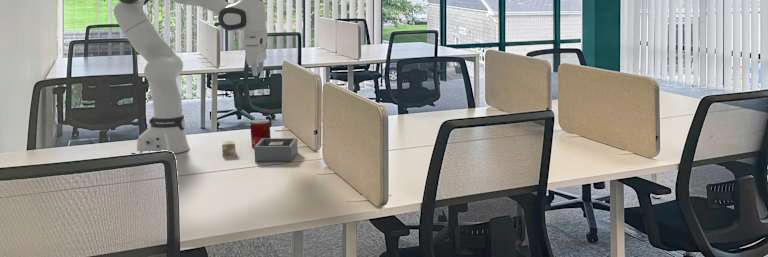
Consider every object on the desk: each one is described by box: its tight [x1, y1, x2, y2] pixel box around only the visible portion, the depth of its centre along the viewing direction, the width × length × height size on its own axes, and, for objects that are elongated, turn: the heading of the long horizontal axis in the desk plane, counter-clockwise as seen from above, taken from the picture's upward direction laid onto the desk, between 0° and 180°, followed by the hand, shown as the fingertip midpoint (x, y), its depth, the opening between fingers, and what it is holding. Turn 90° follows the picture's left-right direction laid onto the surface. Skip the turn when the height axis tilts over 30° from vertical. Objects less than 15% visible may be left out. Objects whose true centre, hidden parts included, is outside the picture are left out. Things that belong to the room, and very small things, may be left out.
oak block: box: [221, 140, 237, 158], centre depth 284 cm, size 5×5×5 cm
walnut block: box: [268, 142, 284, 146], centre depth 278 cm, size 5×5×5 cm
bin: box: [253, 137, 299, 163], centre depth 278 cm, size 14×14×6 cm
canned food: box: [250, 118, 271, 149], centre depth 295 cm, size 8×8×11 cm
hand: (258, 74), depth 283 cm, fingers open, 8 cm apart
